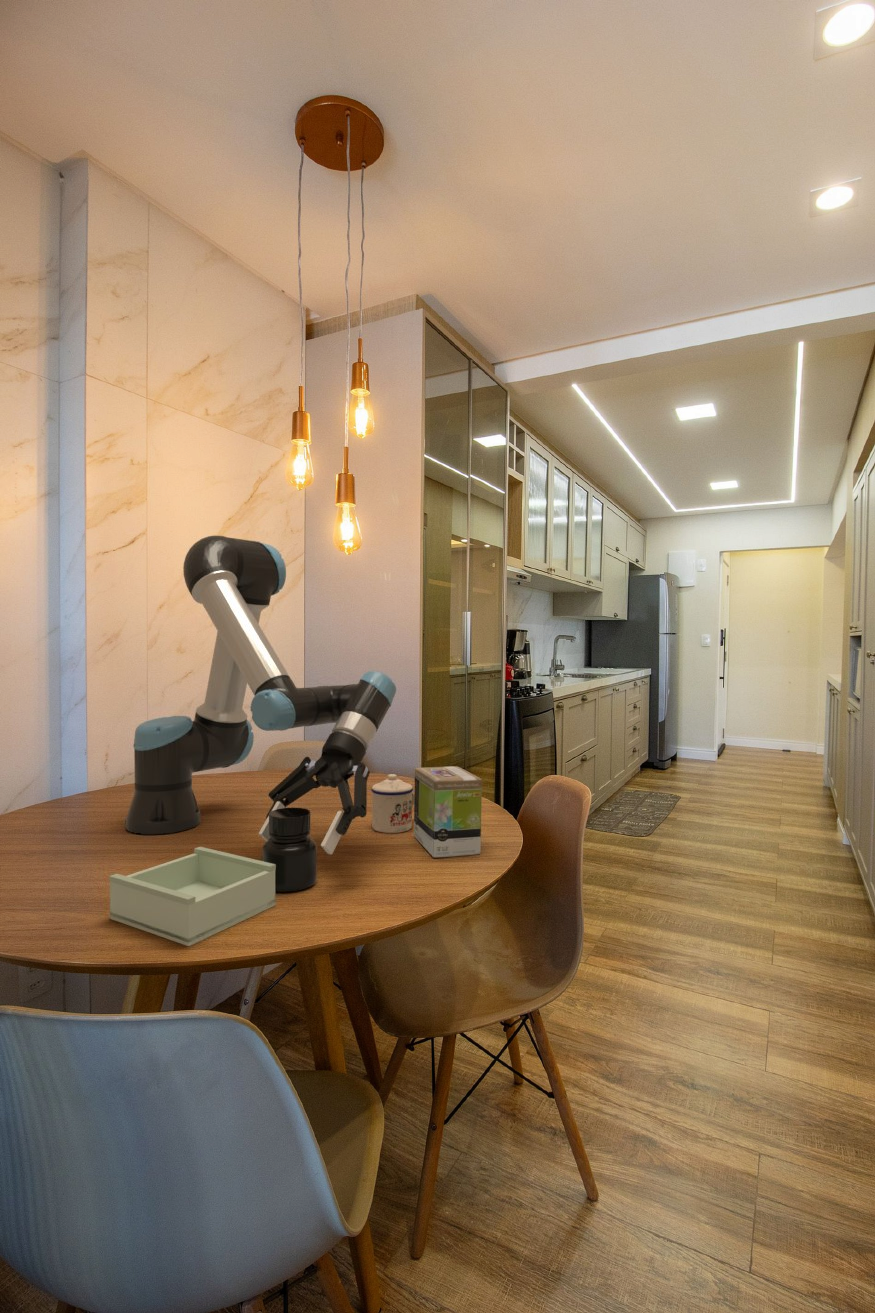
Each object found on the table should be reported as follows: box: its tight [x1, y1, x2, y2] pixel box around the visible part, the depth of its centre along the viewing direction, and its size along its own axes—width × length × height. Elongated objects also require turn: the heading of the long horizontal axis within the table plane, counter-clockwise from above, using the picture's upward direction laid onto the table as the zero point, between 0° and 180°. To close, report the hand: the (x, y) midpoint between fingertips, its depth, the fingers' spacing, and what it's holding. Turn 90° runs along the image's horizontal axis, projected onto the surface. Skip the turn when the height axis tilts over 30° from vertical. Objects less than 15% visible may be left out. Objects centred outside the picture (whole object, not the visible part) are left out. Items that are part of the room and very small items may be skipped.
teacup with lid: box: [371, 773, 415, 834], centre depth 145 cm, size 12×9×12 cm
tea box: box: [413, 765, 483, 858], centre depth 132 cm, size 15×10×15 cm, turn 17°
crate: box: [108, 846, 276, 947], centre depth 99 cm, size 17×16×6 cm
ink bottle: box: [261, 807, 318, 893], centre depth 110 cm, size 10×9×12 cm
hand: (294, 844), depth 110 cm, fingers open, 13 cm apart
